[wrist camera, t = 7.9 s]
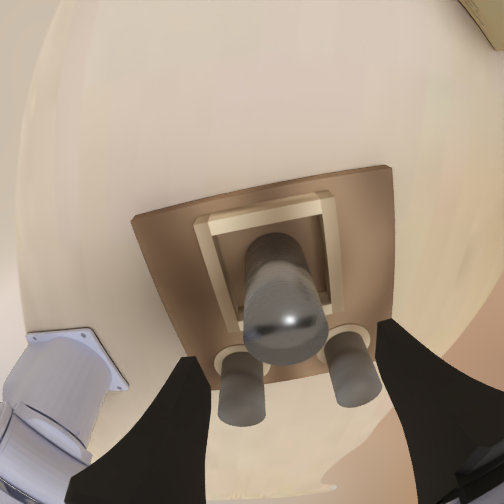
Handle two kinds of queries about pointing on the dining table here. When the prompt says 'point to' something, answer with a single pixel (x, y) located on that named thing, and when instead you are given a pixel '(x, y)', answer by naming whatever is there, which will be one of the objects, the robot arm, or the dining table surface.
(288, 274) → the metal pin
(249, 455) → the dining table surface
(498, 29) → the skincare box
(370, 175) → the pin board
